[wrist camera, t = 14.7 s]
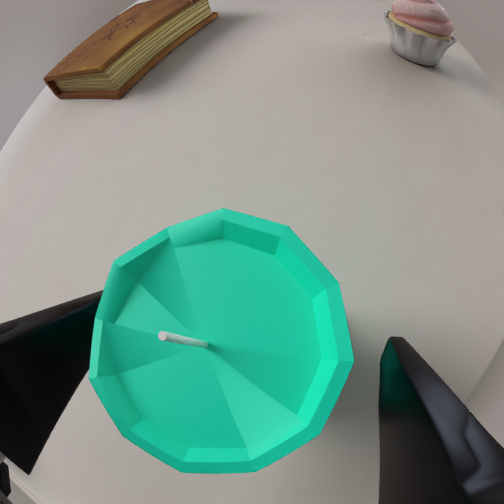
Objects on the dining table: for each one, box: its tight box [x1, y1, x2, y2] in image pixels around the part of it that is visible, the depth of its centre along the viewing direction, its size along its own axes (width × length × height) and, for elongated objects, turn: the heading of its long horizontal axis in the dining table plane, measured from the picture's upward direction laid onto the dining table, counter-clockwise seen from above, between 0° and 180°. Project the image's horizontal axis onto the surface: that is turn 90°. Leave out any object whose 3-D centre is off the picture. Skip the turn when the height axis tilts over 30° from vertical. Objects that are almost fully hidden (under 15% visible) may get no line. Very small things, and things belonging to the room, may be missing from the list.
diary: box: [44, 0, 218, 99], centre depth 31 cm, size 23×19×6 cm
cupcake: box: [384, 0, 457, 66], centre depth 19 cm, size 9×9×10 cm
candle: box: [89, 208, 354, 473], centre depth 9 cm, size 6×6×12 cm
